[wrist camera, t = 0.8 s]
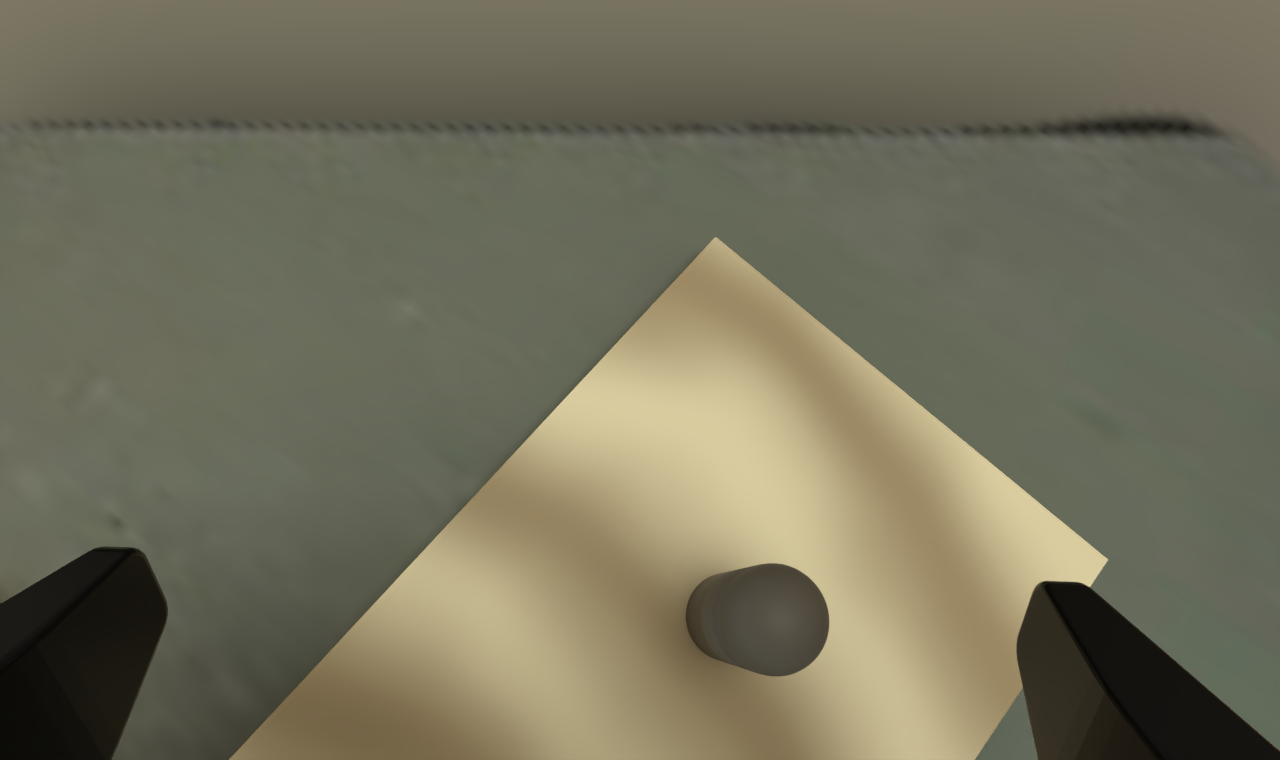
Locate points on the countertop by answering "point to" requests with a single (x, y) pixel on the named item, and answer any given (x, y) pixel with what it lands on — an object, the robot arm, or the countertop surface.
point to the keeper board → (704, 568)
